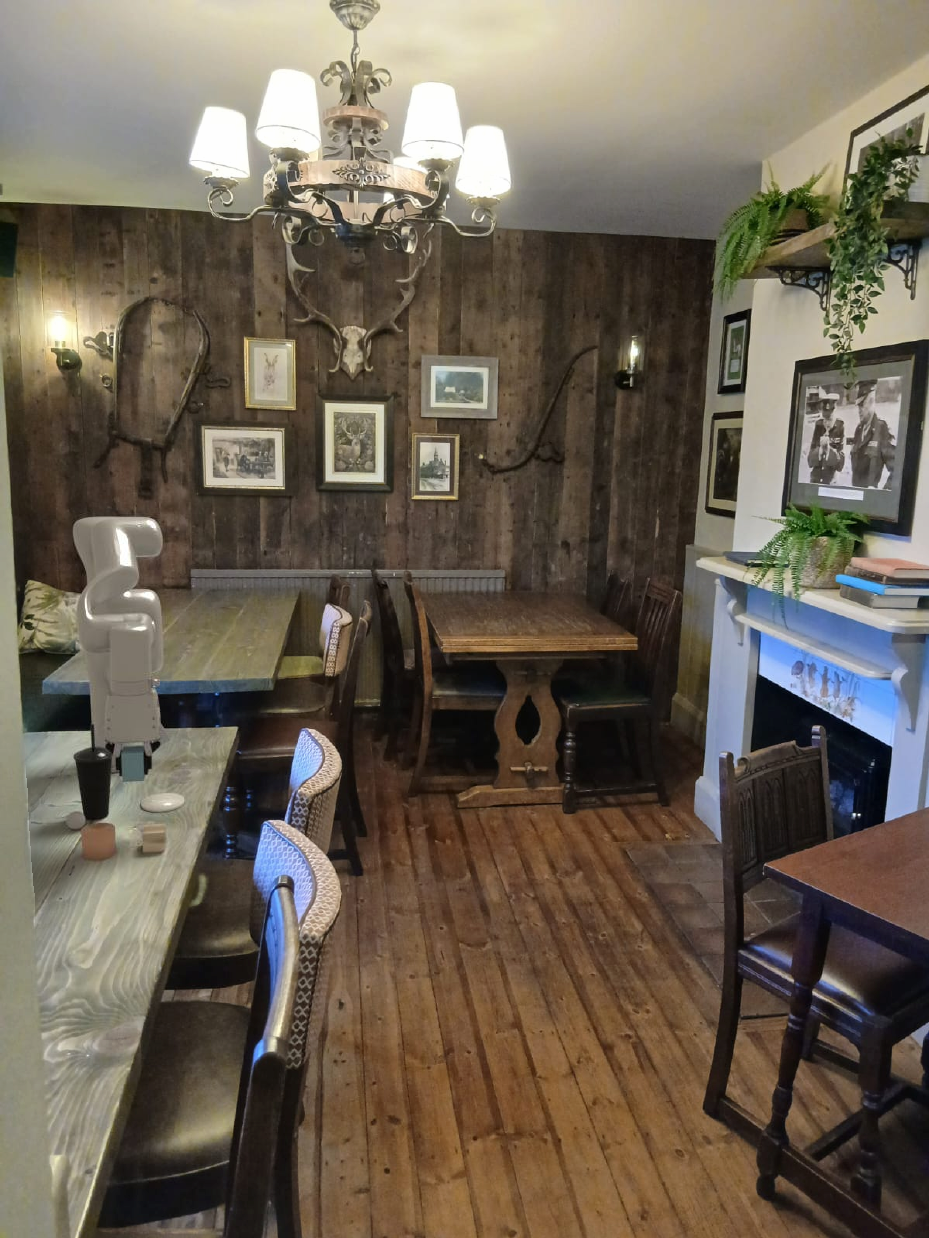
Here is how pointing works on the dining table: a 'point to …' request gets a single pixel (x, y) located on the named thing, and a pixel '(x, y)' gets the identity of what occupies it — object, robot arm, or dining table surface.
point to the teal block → (133, 763)
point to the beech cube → (154, 838)
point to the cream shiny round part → (162, 802)
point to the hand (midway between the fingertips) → (134, 771)
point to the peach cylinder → (98, 841)
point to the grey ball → (75, 820)
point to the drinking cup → (94, 779)
